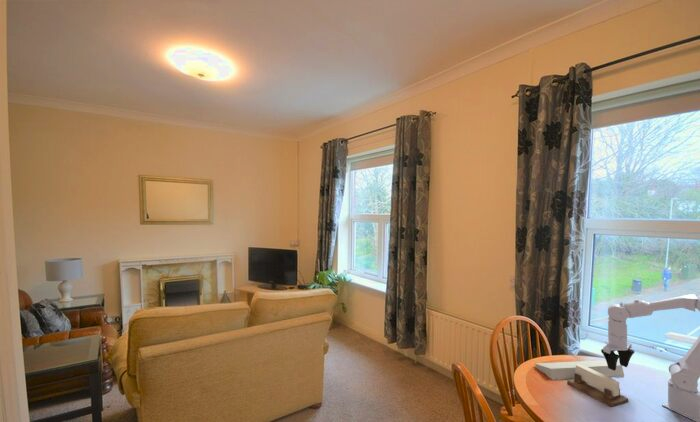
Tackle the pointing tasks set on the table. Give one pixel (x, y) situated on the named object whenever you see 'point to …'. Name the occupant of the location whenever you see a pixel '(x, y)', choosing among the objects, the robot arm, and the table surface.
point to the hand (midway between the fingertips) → (617, 367)
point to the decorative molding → (569, 369)
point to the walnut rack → (597, 392)
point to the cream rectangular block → (597, 379)
